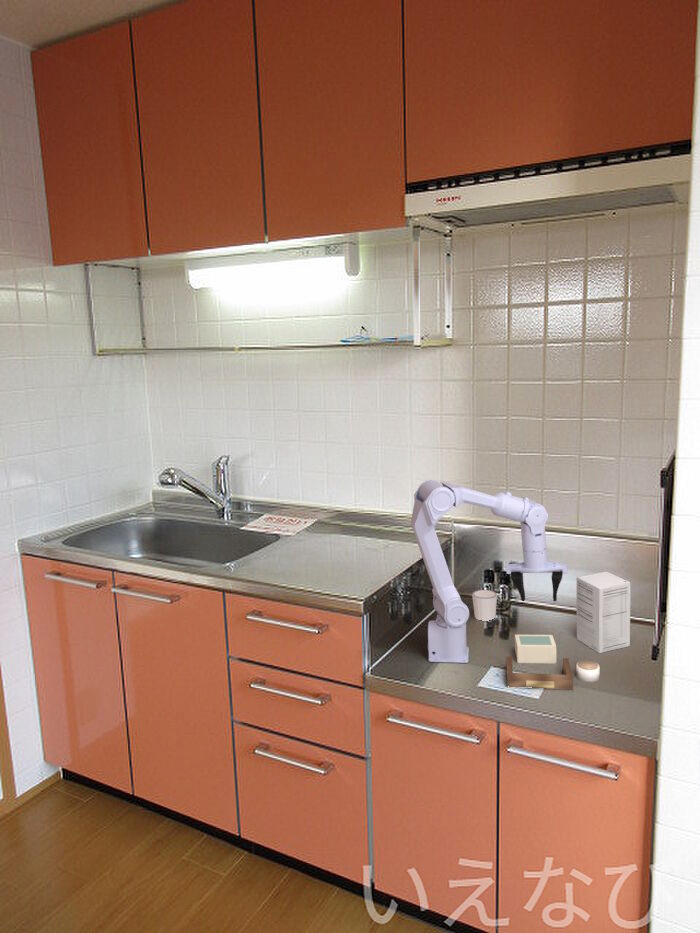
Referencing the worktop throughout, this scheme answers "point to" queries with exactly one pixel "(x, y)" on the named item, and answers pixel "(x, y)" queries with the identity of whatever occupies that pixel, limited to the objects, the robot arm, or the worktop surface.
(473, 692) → the worktop surface
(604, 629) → the supplement box
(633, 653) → the worktop surface
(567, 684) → the display stand
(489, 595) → the beige tapered cup
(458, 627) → the robot arm
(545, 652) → the carton
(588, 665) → the salt pot
